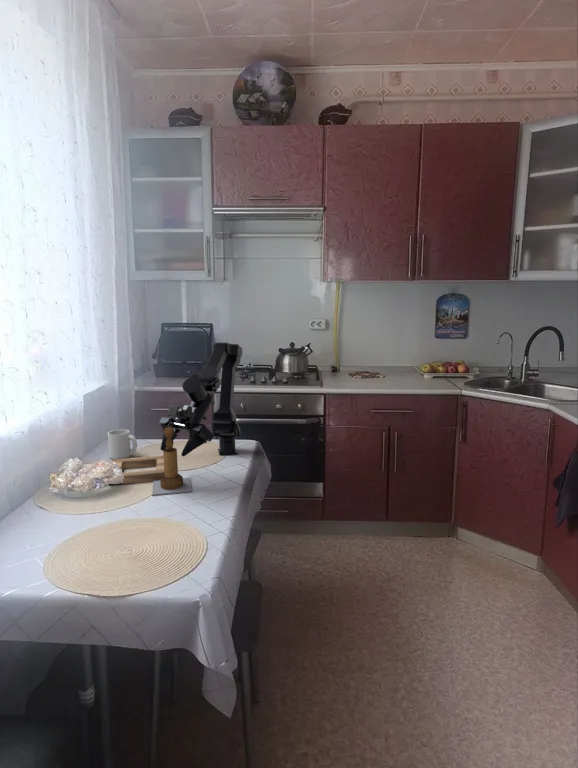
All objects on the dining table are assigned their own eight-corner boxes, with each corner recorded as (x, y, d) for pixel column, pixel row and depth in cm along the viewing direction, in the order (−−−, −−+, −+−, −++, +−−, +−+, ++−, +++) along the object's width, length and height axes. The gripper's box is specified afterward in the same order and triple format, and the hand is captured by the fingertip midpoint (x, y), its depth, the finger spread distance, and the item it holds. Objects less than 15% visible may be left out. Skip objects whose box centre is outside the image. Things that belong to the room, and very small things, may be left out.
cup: (114, 453, 188) (112, 429, 186) (141, 453, 187) (140, 429, 185) (106, 459, 180) (104, 435, 179) (134, 460, 180) (132, 435, 178)
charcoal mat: (153, 482, 159) (153, 481, 159) (189, 478, 161) (189, 477, 161) (152, 495, 148) (152, 494, 148) (191, 492, 151) (191, 490, 151)
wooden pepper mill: (171, 491, 150) (168, 431, 147) (155, 487, 154) (152, 428, 151) (187, 483, 156) (184, 425, 153) (172, 479, 159) (168, 423, 156)
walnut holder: (114, 466, 173) (113, 459, 173) (166, 462, 177) (165, 455, 176) (108, 485, 157) (108, 477, 156) (166, 479, 161) (166, 472, 160)
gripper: (161, 390, 160) (134, 433, 153) (204, 398, 149) (177, 444, 142) (182, 410, 168) (157, 452, 161) (224, 418, 157) (199, 463, 150)
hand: (171, 452), depth 153 cm, fingers open, 9 cm apart
